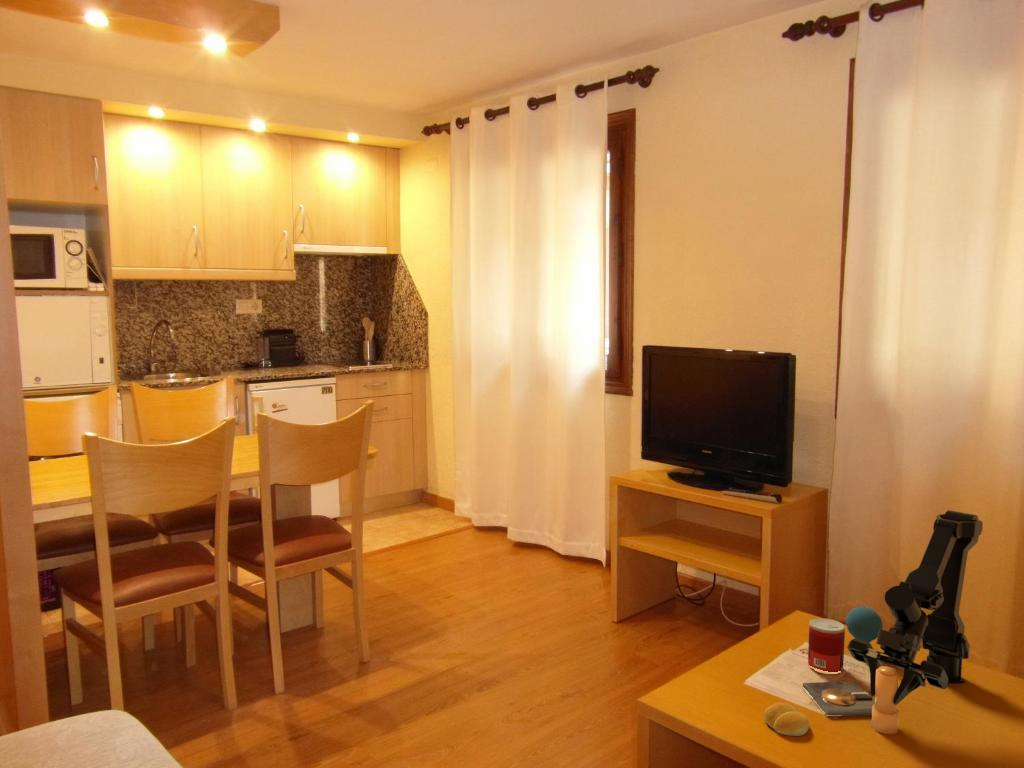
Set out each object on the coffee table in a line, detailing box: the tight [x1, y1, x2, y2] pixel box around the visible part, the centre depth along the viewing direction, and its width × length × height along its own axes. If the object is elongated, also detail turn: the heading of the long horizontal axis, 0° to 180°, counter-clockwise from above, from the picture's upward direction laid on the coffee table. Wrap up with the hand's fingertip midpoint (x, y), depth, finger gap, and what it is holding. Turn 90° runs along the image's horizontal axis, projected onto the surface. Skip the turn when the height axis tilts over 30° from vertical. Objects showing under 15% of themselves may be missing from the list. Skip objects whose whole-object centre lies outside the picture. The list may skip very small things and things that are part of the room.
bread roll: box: [763, 702, 810, 737], centre depth 161 cm, size 8×9×4 cm
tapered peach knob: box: [870, 665, 900, 735], centre depth 159 cm, size 5×5×13 cm
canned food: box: [807, 617, 846, 672], centre depth 186 cm, size 8×8×11 cm
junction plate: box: [802, 680, 875, 717], centre depth 170 cm, size 12×12×2 cm
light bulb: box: [845, 606, 884, 644], centre depth 194 cm, size 8×8×12 cm
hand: (883, 699), depth 158 cm, fingers closed on tapered peach knob, 4 cm apart
